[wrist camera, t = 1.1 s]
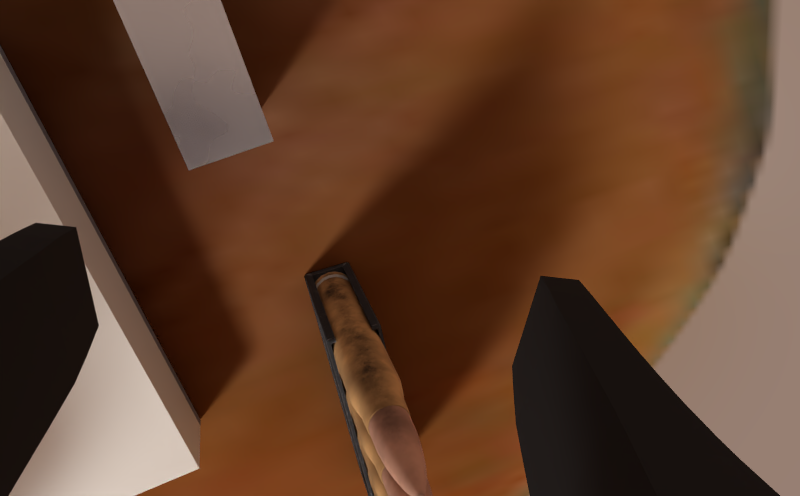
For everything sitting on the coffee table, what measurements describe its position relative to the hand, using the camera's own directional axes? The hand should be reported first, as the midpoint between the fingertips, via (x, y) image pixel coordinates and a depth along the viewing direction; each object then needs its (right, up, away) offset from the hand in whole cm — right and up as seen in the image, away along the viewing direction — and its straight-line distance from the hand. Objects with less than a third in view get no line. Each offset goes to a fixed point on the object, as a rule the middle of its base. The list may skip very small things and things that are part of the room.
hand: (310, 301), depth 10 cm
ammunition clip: (-1, -5, +17) cm, 18 cm away
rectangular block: (-5, +8, +11) cm, 14 cm away
